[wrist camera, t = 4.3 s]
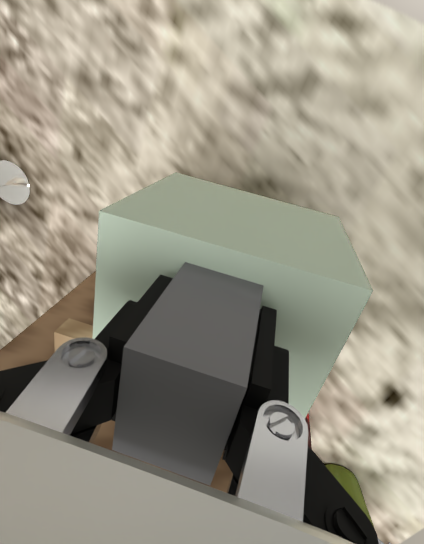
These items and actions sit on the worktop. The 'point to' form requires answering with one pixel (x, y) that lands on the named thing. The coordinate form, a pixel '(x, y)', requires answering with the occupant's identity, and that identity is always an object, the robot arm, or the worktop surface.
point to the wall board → (61, 328)
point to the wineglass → (13, 183)
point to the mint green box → (217, 310)
